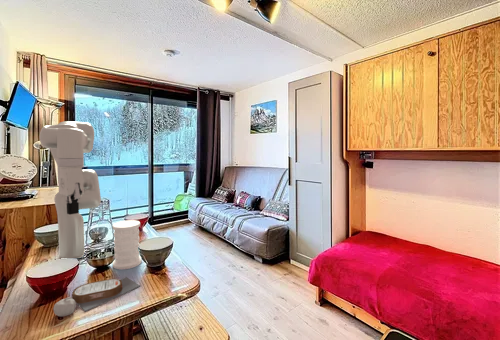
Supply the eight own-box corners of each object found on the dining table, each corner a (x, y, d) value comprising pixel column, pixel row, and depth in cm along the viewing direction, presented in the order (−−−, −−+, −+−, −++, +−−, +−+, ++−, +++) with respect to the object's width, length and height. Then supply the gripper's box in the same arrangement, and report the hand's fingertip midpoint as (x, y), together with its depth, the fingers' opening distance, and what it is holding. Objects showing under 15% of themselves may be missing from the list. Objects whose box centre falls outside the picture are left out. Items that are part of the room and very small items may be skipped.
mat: (73, 299, 82) (73, 298, 82) (126, 277, 96) (126, 276, 96) (85, 311, 76) (85, 310, 76) (140, 286, 90) (140, 285, 90)
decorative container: (142, 256, 116) (141, 219, 115) (141, 267, 105) (140, 226, 104) (114, 259, 112) (113, 221, 110) (110, 271, 101) (109, 229, 100)
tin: (74, 292, 85) (69, 308, 78) (73, 284, 85) (68, 299, 77) (122, 282, 92) (122, 296, 85) (122, 274, 92) (122, 287, 84)
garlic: (81, 308, 78) (80, 292, 77) (69, 319, 72) (68, 303, 72) (62, 308, 77) (61, 292, 77) (48, 320, 72) (47, 303, 72)
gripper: (51, 162, 88) (53, 212, 90) (66, 164, 80) (68, 219, 81) (75, 162, 94) (77, 208, 96) (91, 163, 86) (93, 215, 87)
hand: (73, 213), depth 89 cm, fingers closed
